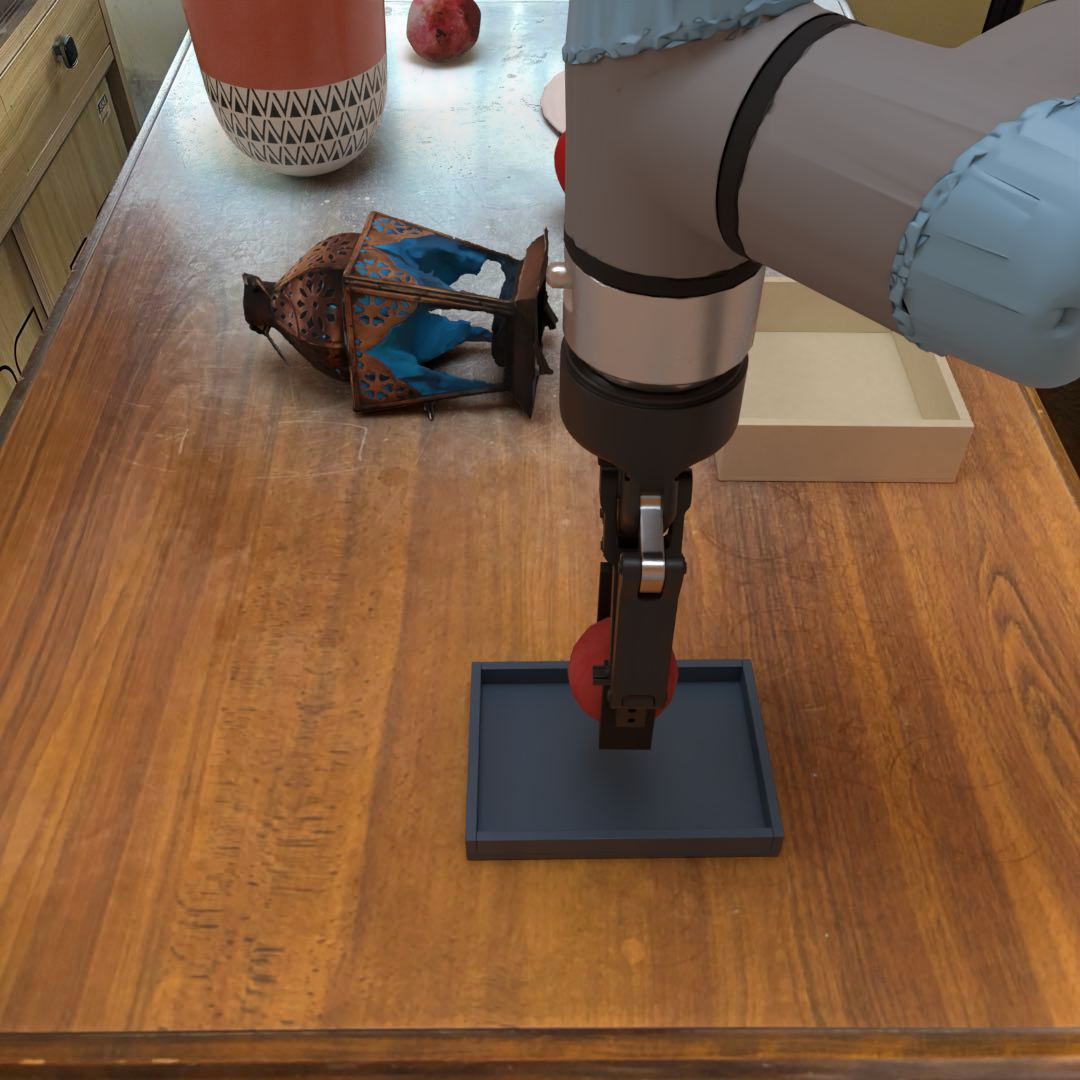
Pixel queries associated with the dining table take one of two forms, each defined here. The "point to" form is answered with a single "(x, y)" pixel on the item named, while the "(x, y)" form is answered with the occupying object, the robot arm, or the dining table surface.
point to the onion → (594, 652)
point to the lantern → (405, 313)
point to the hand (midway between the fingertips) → (621, 692)
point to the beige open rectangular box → (841, 399)
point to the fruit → (443, 28)
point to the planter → (293, 77)
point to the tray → (618, 770)
